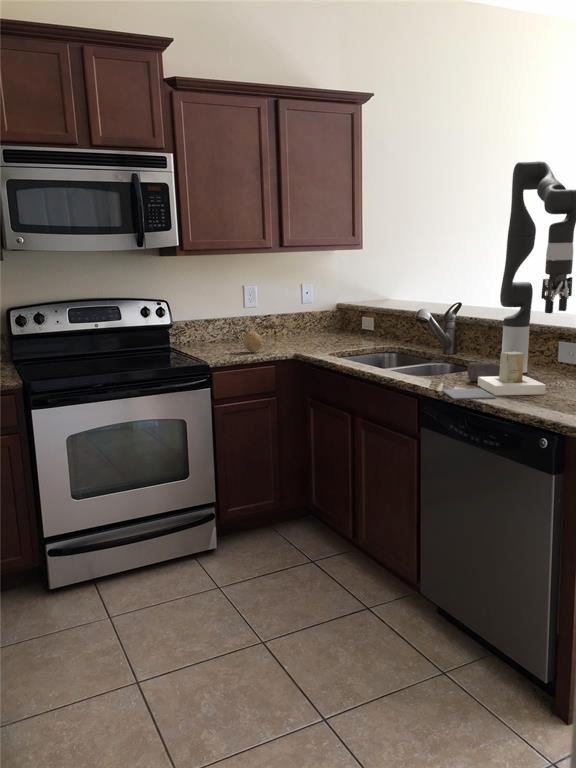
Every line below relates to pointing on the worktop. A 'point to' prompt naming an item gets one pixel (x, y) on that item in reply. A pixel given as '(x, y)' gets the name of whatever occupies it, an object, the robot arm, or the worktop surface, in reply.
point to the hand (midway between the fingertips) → (555, 312)
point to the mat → (468, 394)
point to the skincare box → (511, 367)
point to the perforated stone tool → (482, 370)
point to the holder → (511, 386)
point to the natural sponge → (252, 341)
